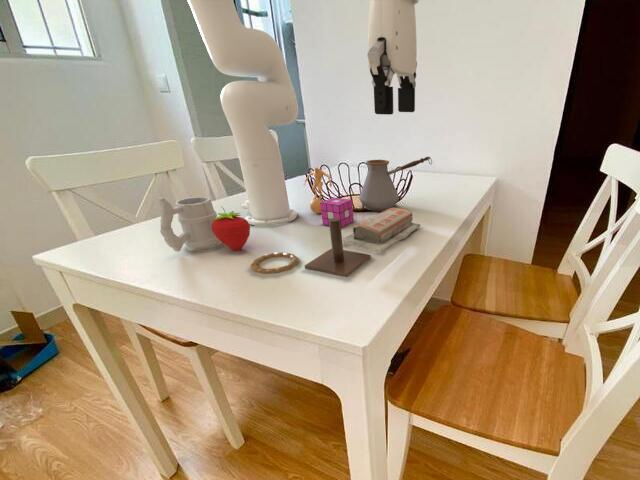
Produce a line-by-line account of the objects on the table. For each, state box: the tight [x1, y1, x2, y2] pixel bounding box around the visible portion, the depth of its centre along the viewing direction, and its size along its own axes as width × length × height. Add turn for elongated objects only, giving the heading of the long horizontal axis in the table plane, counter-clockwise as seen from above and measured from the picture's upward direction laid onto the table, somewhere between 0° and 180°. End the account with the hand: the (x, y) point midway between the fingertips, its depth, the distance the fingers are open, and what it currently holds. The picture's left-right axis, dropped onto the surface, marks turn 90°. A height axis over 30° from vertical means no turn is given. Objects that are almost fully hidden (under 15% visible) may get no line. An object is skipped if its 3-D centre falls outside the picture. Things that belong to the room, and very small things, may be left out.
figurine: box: [303, 166, 333, 214], centre depth 93 cm, size 8×6×12 cm
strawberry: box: [212, 205, 251, 252], centre depth 69 cm, size 6×8×10 cm
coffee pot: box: [358, 156, 433, 212], centre depth 95 cm, size 21×12×15 cm, turn 69°
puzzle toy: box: [320, 196, 355, 229], centre depth 86 cm, size 6×6×6 cm
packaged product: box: [342, 207, 421, 253], centre depth 78 cm, size 18×5×10 cm
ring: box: [250, 251, 300, 275], centre depth 65 cm, size 8×8×1 cm
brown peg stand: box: [304, 218, 372, 278], centre depth 64 cm, size 9×9×9 cm
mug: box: [157, 196, 223, 253], centre depth 70 cm, size 8×12×12 cm, turn 158°
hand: (396, 113), depth 61 cm, fingers open, 9 cm apart
